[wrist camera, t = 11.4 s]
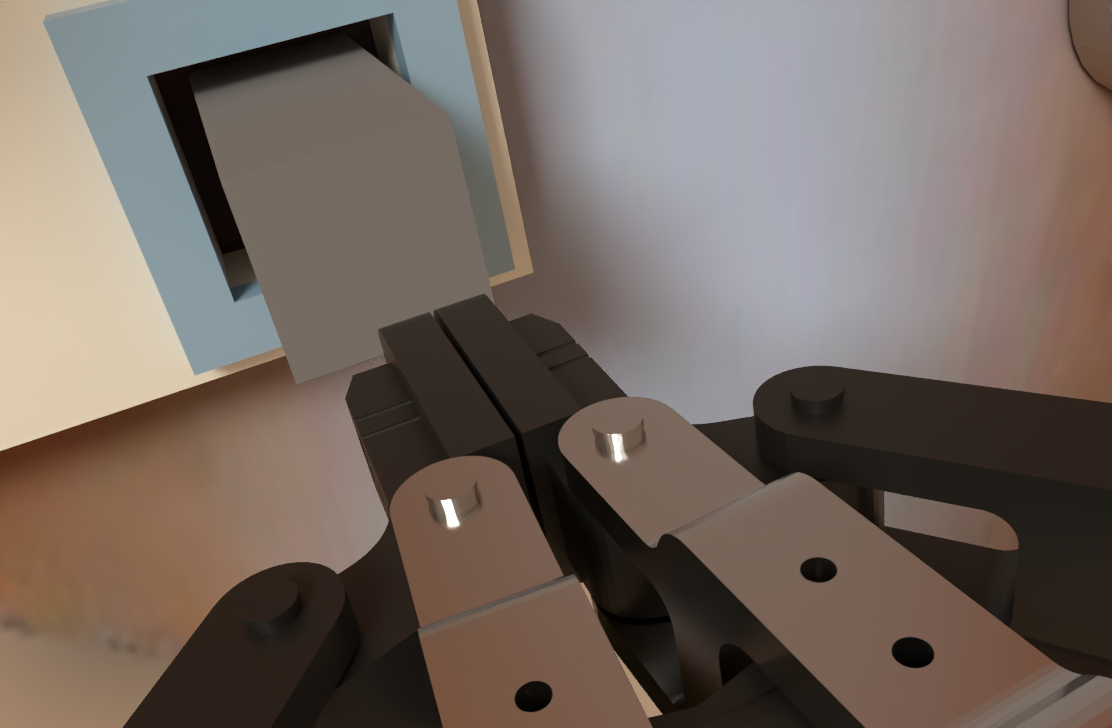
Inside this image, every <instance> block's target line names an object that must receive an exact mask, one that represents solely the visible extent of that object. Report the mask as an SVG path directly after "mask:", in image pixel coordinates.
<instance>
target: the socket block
mask: <svg viewBox="0 0 1112 728" xmlns="http://www.w3.org/2000/svg"><path fill="white" fill-rule="evenodd" d="M367 19H369V23H370V27H371V30H372V34H373V38H374V42H375V46H376V49H377V53H378V57H379V61H380V62H382V63H383V64H384V65H386V66H387V67H388V68H389V69H391V70H392V71H393V72H395V73H396V74H397V75H399V76H400V77H401V78H402V79H404V80H405V81H406V82H408V83H409V84H410V85H412V86H413V87H414V88H415V89H417V90H418V91H419V92H421V93H422V94H423V95H424V96H426V97H427V98H428V99H430V100H431V101H432V102H434V103H435V104H436V105H437V106H439V107H440V108H441V109H443V110H444V111H445V112H447V113H448V114H449V115H450V118H451V122H452V127H453V131H454V135H455V139H456V143H457V148H458V152H459V156H460V160H461V164H462V168H463V173H464V177H465V181H466V185H467V189H468V194H469V198H470V202H471V206H472V210H473V215H474V219H475V223H476V227H477V231H478V235H479V240H480V244H481V248H482V252H483V256H484V261H485V265H486V269H487V273H488V277H489V281H490V286H491V287H492V286H495V285H498V284H501V283H504V282H507V281H510V280H513V279H516V278H519V277H522V276H525V275H528V274H531V273H534V272H533V267H532V262H531V258H530V253H529V248H528V243H527V239H526V234H525V229H524V224H523V219H522V215H521V210H520V205H519V200H518V195H517V191H516V186H515V181H514V176H513V171H512V167H511V162H510V157H509V152H508V147H507V143H506V138H505V133H504V128H503V123H502V119H501V114H500V109H499V104H498V100H497V95H496V90H495V85H494V80H493V76H492V71H491V66H490V61H489V56H488V52H487V47H486V42H485V37H484V32H483V28H482V23H481V18H480V13H479V8H478V4H477V0H0V451H2V450H5V449H8V448H11V447H14V446H17V445H20V444H23V443H26V442H29V441H32V440H35V439H38V438H41V437H44V436H47V435H50V434H53V433H56V432H59V431H62V430H65V429H68V428H71V427H74V426H77V425H80V424H83V423H86V422H89V421H92V420H95V419H98V418H100V417H103V416H106V415H109V414H112V413H115V412H118V411H121V410H124V409H127V408H130V407H133V406H136V405H139V404H142V403H145V402H148V401H151V400H154V399H157V398H160V397H163V396H166V395H169V394H172V393H175V392H178V391H181V390H184V389H187V388H190V387H193V386H196V385H199V384H202V383H205V382H208V381H211V380H214V379H217V378H220V377H223V376H226V375H229V374H232V373H235V372H238V371H241V370H244V369H247V368H250V367H253V366H256V365H259V364H262V363H265V362H268V361H271V360H274V359H277V358H280V357H283V356H286V355H285V353H284V350H283V347H282V345H281V342H280V339H279V337H278V334H277V331H276V328H275V326H274V323H273V320H272V318H271V315H270V312H269V310H268V307H267V304H266V302H265V299H264V296H263V294H262V291H261V288H260V286H259V283H258V280H257V278H256V275H255V272H254V270H253V267H252V264H251V262H250V259H249V256H248V254H247V251H246V248H243V249H240V250H236V251H233V252H230V253H226V254H223V255H222V252H221V250H220V247H219V244H218V242H217V239H216V237H215V234H214V231H213V229H212V226H211V223H210V221H209V218H208V216H207V213H206V210H205V208H204V205H203V203H202V200H201V197H200V195H199V192H198V190H197V187H196V184H195V182H194V179H193V177H192V174H191V171H190V169H189V166H188V164H187V161H186V158H185V156H184V153H183V151H182V148H181V145H180V143H179V140H178V138H177V135H176V132H175V130H174V127H173V125H172V122H171V119H170V117H169V114H168V112H167V109H166V106H165V104H164V101H163V99H162V96H161V93H160V91H159V88H158V85H157V83H156V80H155V78H154V75H153V74H157V73H161V72H165V71H169V70H173V69H177V68H180V67H184V66H188V65H192V64H196V63H200V62H204V61H208V60H211V59H215V58H219V57H223V56H227V55H231V54H235V53H239V52H242V51H246V50H250V49H254V48H258V47H262V46H266V45H270V44H273V43H277V42H281V41H285V40H289V39H293V38H297V37H301V36H305V35H308V34H312V33H316V32H320V31H324V30H328V29H332V28H336V27H339V26H343V25H347V24H351V23H355V22H359V21H363V20H367Z"/></svg>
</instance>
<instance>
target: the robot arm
mask: <svg viewBox="0 0 1112 728" xmlns="http://www.w3.org/2000/svg"><path fill="white" fill-rule="evenodd" d="M1069 22H1070V27H1071V33H1072V38H1073V44H1074V47H1075V49H1076V51H1077V54H1078V56H1079V58H1080V61H1081V63H1082V65H1083V66H1084V68H1085V69H1086V70H1087V71H1088V72H1089V74H1090V75H1091V76H1092V77H1093V79H1094V80H1095V81H1097V82H1098V83H1100V84H1102V85H1103V86H1105V87H1106V88H1108V89H1110V90H1112V0H1069ZM433 316H434V317H433ZM433 316H432V315H431V313H430V312H427V313H424V314H421V315H418V316H415V317H412V318H409V319H406V320H404V321H401V322H398V323H395V324H392V325H389V326H386V327H383V328H380V329H378V334H379V339H380V342H381V346H382V349H383V352H384V356H385V359H386V362H387V364H385V365H382V366H379V367H376V368H373V369H370V370H368V371H365V372H362V373H359V374H356V375H353V377H352V380H351V383H350V386H349V389H348V392H347V395H346V398H345V399H346V402H347V405H348V408H349V411H350V414H351V417H352V420H353V423H354V426H355V429H356V432H357V435H358V438H359V440H360V443H361V446H362V449H363V452H364V455H365V458H366V461H367V464H368V467H369V470H370V473H371V476H372V478H373V481H374V484H375V487H376V490H377V492H378V495H379V497H380V500H381V502H382V505H383V507H384V510H385V512H386V514H387V517H388V520H389V522H388V525H387V527H386V530H385V532H384V534H383V535H382V537H381V538H380V540H379V541H378V542H377V544H376V545H375V546H374V547H373V548H372V549H371V550H370V551H369V552H368V553H367V554H366V555H365V556H364V557H362V558H361V559H360V560H358V561H357V562H356V563H354V564H353V565H352V566H350V567H349V568H347V569H346V570H344V571H342V572H341V573H339V574H338V575H337V574H336V573H335V572H334V571H333V570H331V569H330V568H328V567H326V566H323V565H320V564H316V563H309V562H296V563H287V564H283V565H278V566H274V567H272V568H269V569H266V570H263V571H261V572H259V573H256V574H254V575H252V576H250V577H249V578H247V579H245V580H244V581H242V582H240V583H239V584H237V585H236V586H235V587H233V588H232V589H231V590H229V591H228V592H227V593H226V594H225V595H224V596H223V597H222V598H221V599H220V600H219V601H218V602H217V604H216V605H215V606H214V607H213V608H212V610H211V611H210V612H209V614H208V615H207V616H206V618H205V619H204V620H203V622H202V623H201V624H200V626H199V627H198V628H197V630H196V631H195V632H194V634H193V635H192V636H191V638H190V639H189V640H188V642H187V643H186V644H185V646H184V647H183V648H182V650H181V651H180V652H179V653H178V655H177V656H176V657H175V659H174V660H173V661H172V663H171V664H170V665H169V667H168V668H167V669H166V671H165V672H164V673H163V675H162V676H161V678H160V679H159V680H158V681H157V683H156V684H155V685H154V687H153V688H152V689H151V691H150V692H149V693H148V695H147V696H146V697H145V699H144V700H143V701H142V703H141V704H140V705H139V707H138V708H137V709H136V711H135V712H134V713H133V715H132V716H131V717H130V719H129V720H128V721H127V723H126V724H125V725H124V726H123V728H1112V403H1106V402H1098V401H1090V400H1083V399H1075V398H1068V397H1060V396H1053V395H1045V394H1038V393H1030V392H1023V391H1015V390H1008V389H1000V388H992V387H985V386H977V385H970V384H962V383H955V382H947V381H940V380H932V379H925V378H917V377H909V376H902V375H894V374H887V373H879V372H872V371H864V370H857V369H849V368H842V367H833V366H808V367H801V368H796V369H792V370H788V371H785V372H782V373H780V374H778V375H775V376H773V377H772V378H770V379H768V380H767V381H766V382H764V383H763V384H762V385H761V386H760V387H759V388H758V390H757V391H756V393H755V395H754V399H753V410H754V416H753V417H747V418H740V419H734V420H728V421H722V422H716V423H708V424H690V423H689V422H688V421H687V420H685V419H684V418H683V417H682V416H681V415H679V414H678V413H677V412H676V411H674V410H673V409H672V408H670V407H669V406H667V405H666V404H664V403H662V402H659V401H656V400H653V399H649V398H642V397H628V396H627V395H626V394H625V393H624V392H623V391H622V390H621V389H620V388H619V387H618V385H617V384H616V383H615V382H614V381H613V380H612V379H611V378H610V377H609V376H608V375H607V374H606V373H605V372H604V371H603V370H602V369H601V367H600V366H599V365H598V364H597V363H596V362H595V361H594V360H593V359H592V358H589V356H588V354H587V353H586V352H585V351H584V350H583V348H582V347H581V346H580V345H579V344H576V343H575V340H574V339H573V338H572V337H571V336H570V335H569V334H568V333H567V332H566V330H565V329H564V328H563V327H562V326H561V325H560V324H558V323H556V322H553V321H550V320H547V319H544V318H542V317H539V316H536V315H533V314H529V315H526V316H524V317H521V318H518V319H515V320H512V321H508V320H507V319H506V318H505V317H504V316H503V314H502V313H501V312H500V311H499V310H498V308H497V307H496V306H495V305H494V304H493V302H492V301H491V300H490V299H489V298H488V296H487V295H486V294H481V295H478V296H475V297H472V298H469V299H466V300H463V301H460V302H457V303H454V304H451V305H448V306H445V307H442V308H439V309H436V310H434V311H433ZM884 491H887V492H892V493H897V494H903V495H908V496H913V497H918V498H923V499H929V500H934V501H939V502H944V503H949V504H955V505H960V506H965V507H970V508H975V509H981V510H984V511H988V512H991V513H993V514H995V515H997V516H999V517H1001V518H1002V519H1003V520H1005V521H1006V522H1007V523H1008V524H1009V525H1010V526H1011V527H1012V528H1013V529H1014V531H1015V533H1016V535H1017V537H1018V542H1019V548H1018V549H1017V550H1011V551H1002V550H996V549H991V548H987V547H982V546H977V545H972V544H968V543H963V542H958V541H953V540H949V539H944V538H939V537H934V536H930V535H925V534H920V533H915V532H910V531H906V530H901V529H896V528H891V527H887V526H884ZM582 582H583V583H584V585H585V586H586V588H587V589H588V591H589V592H590V594H591V599H592V603H593V608H594V610H593V608H592V606H591V604H590V602H589V600H588V598H587V596H586V594H585V592H584V590H583V588H582V586H581V584H580V583H582ZM614 651H615V652H616V653H617V655H618V656H619V657H620V659H621V660H622V661H623V663H624V664H625V665H626V667H627V668H628V669H629V671H630V672H631V673H632V675H633V676H634V677H635V679H636V680H637V681H638V683H639V684H640V685H641V686H642V688H643V689H644V690H645V692H646V693H647V694H648V696H649V697H650V698H651V700H652V701H653V702H654V703H655V705H656V706H657V708H658V709H659V710H660V712H661V713H662V714H663V715H659V716H655V717H650V718H648V717H647V715H646V713H645V711H644V709H643V708H642V706H641V703H640V702H639V699H638V697H637V695H636V694H635V691H634V690H633V687H632V685H631V684H630V681H629V679H628V678H627V676H626V673H625V672H624V670H623V668H622V666H621V664H620V662H619V660H618V658H617V656H616V654H615V652H614Z"/></svg>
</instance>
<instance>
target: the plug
mask: <svg viewBox="0 0 1112 728" xmlns="http://www.w3.org/2000/svg"><path fill="white" fill-rule="evenodd" d="M187 74H188V77H189V80H190V83H191V87H192V90H193V93H194V96H195V100H196V103H197V106H198V109H199V113H200V116H201V119H202V122H203V126H204V129H205V132H206V136H207V139H208V142H209V145H210V149H211V152H212V155H213V158H214V162H215V165H216V168H217V171H218V175H219V178H220V181H221V184H222V187H223V189H224V192H225V195H226V197H227V200H228V203H229V205H230V208H231V211H232V213H233V216H234V219H235V221H236V224H237V227H238V229H239V232H240V235H241V237H242V240H243V243H244V245H245V248H246V251H247V254H248V256H249V259H250V262H251V264H252V267H253V270H254V272H255V275H256V278H257V280H258V283H259V286H260V288H261V291H262V294H263V296H264V299H265V302H266V304H267V307H268V310H269V312H270V315H271V318H272V320H273V323H274V326H275V328H276V331H277V334H278V337H279V339H280V342H281V345H282V347H283V350H284V353H285V355H286V358H287V361H288V363H289V366H290V369H291V371H292V374H293V377H294V379H295V382H296V385H297V384H300V383H303V382H306V381H309V380H312V379H315V378H318V377H320V376H323V375H326V374H329V373H332V372H335V371H338V370H341V369H344V368H346V367H349V366H352V365H355V364H358V363H361V362H364V361H367V360H370V359H373V358H375V357H378V356H381V355H384V352H383V349H382V346H381V342H380V339H379V334H378V329H380V328H383V327H386V326H389V325H392V324H395V323H398V322H401V321H404V320H406V319H409V318H412V317H415V316H418V315H421V314H424V313H427V312H430V313H431V315H432V316H433V311H434V310H436V309H439V308H442V307H445V306H448V305H451V304H454V303H457V302H460V301H463V300H466V299H469V298H472V297H475V296H478V295H481V294H486V295H487V296H488V298H489V299H490V300H491V301H492V302H493V304H494V305H495V302H494V298H493V294H492V290H491V286H490V281H489V277H488V273H487V269H486V265H485V261H484V256H483V252H482V248H481V244H480V240H479V235H478V231H477V227H476V223H475V219H474V215H473V210H472V206H471V202H470V198H469V194H468V189H467V185H466V181H465V177H464V173H463V168H462V164H461V160H460V156H459V152H458V148H457V143H456V139H455V135H454V131H453V127H452V122H451V118H450V115H449V114H448V113H447V112H445V111H444V110H443V109H441V108H440V107H439V106H437V105H436V104H435V103H434V102H432V101H431V100H430V99H428V98H427V97H426V96H424V95H423V94H422V93H421V92H419V91H418V90H417V89H415V88H414V87H413V86H412V85H410V84H409V83H408V82H406V81H405V80H404V79H402V78H401V77H400V76H399V75H397V74H396V73H395V72H393V71H392V70H391V69H389V68H388V67H387V66H386V65H384V64H383V63H382V62H380V61H379V60H378V59H377V58H375V57H374V56H373V55H371V54H370V53H369V52H367V51H366V50H365V49H364V48H362V47H361V46H360V45H358V44H357V43H356V42H354V41H353V40H352V39H351V38H349V37H348V36H347V35H345V34H344V33H339V34H335V35H332V36H328V37H324V38H320V39H316V40H313V41H309V42H305V43H301V44H297V45H294V46H290V47H286V48H282V49H278V50H275V51H271V52H267V53H263V54H259V55H256V56H252V57H248V58H244V59H240V60H237V61H233V62H229V63H225V64H221V65H218V66H214V67H210V68H206V69H202V70H199V71H195V72H191V73H187ZM433 317H434V316H433Z"/></svg>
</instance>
